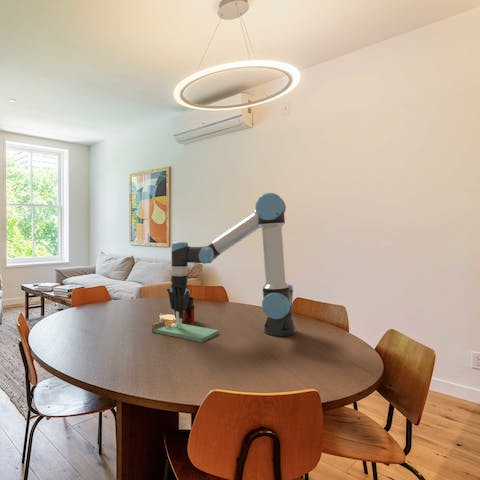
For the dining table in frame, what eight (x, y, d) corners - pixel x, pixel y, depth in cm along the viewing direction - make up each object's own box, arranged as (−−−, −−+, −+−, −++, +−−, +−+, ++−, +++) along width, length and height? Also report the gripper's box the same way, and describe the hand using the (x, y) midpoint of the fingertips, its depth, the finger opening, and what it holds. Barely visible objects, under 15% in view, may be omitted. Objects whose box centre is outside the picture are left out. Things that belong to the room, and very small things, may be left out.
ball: (172, 324, 165) (172, 331, 164) (169, 323, 162) (169, 330, 161) (178, 323, 164) (178, 330, 163) (175, 322, 162) (175, 328, 160)
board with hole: (218, 333, 159) (219, 326, 158) (201, 342, 146) (201, 333, 146) (171, 324, 172) (171, 317, 172) (152, 331, 159) (152, 324, 159)
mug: (193, 326, 170) (193, 302, 170) (171, 322, 177) (171, 299, 176) (203, 321, 179) (204, 299, 178) (182, 318, 185) (183, 296, 185)
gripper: (195, 275, 160) (194, 324, 161) (173, 273, 166) (172, 321, 167) (185, 276, 154) (184, 328, 154) (163, 274, 160) (162, 324, 160)
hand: (178, 324), depth 161 cm, fingers closed
